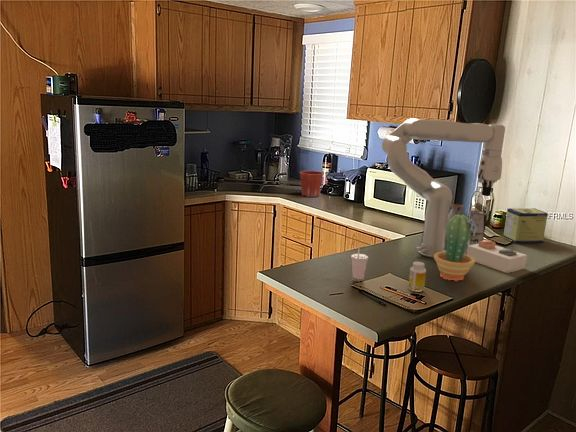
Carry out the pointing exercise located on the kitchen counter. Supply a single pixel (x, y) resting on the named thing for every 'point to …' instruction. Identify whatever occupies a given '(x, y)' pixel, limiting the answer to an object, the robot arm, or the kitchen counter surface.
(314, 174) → the flower pot
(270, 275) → the kitchen counter surface
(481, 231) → the coffee box
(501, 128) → the robot arm
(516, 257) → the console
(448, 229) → the potted cactus
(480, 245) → the terracotta button
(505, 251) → the charcoal button
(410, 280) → the supplement bottle
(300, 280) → the kitchen counter surface
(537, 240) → the protein box
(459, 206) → the coffee pot
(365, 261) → the smoothie
